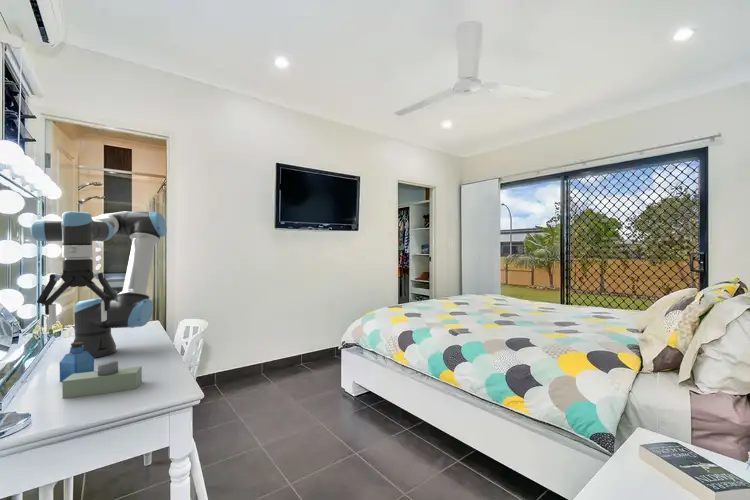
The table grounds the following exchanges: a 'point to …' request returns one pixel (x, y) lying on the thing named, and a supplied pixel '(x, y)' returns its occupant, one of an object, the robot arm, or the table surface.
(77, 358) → the perfume bottle
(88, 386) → the green slab with knob
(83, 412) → the table surface
